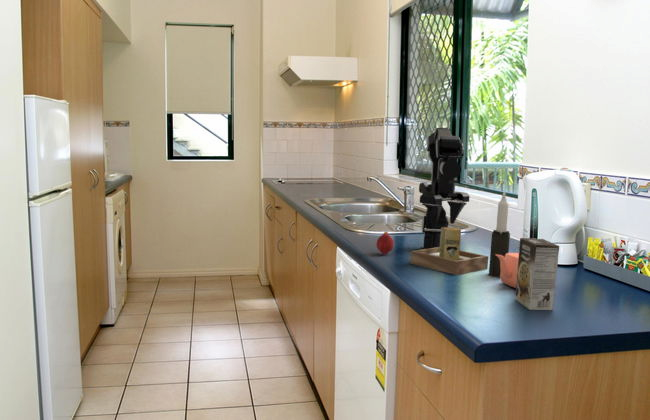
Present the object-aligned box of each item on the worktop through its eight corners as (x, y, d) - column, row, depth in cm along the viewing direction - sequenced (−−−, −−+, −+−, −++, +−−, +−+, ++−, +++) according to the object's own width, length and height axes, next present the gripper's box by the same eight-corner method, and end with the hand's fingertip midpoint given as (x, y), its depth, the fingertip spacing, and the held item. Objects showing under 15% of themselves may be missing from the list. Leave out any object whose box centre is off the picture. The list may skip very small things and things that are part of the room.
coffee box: (513, 299, 157) (519, 237, 155) (538, 300, 158) (543, 238, 156) (528, 310, 148) (534, 244, 146) (554, 310, 149) (560, 244, 147)
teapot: (561, 291, 168) (565, 254, 167) (504, 293, 163) (507, 255, 162) (536, 281, 179) (539, 246, 178) (481, 283, 174) (484, 246, 173)
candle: (507, 274, 186) (513, 192, 183) (506, 277, 181) (513, 193, 178) (489, 272, 188) (496, 191, 185) (488, 275, 183) (494, 192, 180)
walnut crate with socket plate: (441, 258, 206) (442, 246, 206) (487, 268, 193) (488, 256, 193) (410, 263, 196) (410, 251, 195) (456, 274, 182) (457, 261, 182)
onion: (392, 257, 205) (393, 233, 204) (375, 255, 206) (376, 232, 205) (393, 253, 211) (395, 230, 210) (377, 252, 212) (378, 229, 211)
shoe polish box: (438, 264, 197) (441, 227, 195) (453, 264, 197) (456, 227, 196) (442, 267, 192) (445, 229, 190) (458, 268, 192) (461, 230, 191)
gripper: (444, 173, 206) (440, 218, 209) (407, 174, 194) (404, 223, 196) (472, 176, 198) (468, 223, 200) (435, 178, 186) (432, 228, 188)
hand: (443, 224), depth 197 cm, fingers open, 9 cm apart
